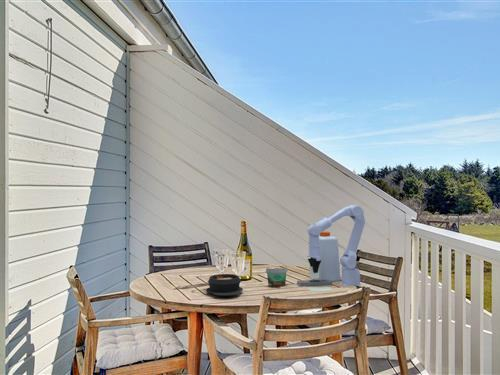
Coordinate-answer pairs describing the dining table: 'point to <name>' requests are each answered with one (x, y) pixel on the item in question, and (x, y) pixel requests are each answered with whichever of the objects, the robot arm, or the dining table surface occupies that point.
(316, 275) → the white rectangular block
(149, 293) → the dining table surface
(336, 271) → the plastic bottle
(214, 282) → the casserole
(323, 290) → the rubber mat
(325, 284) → the grey slotted plate
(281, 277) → the food container
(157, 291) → the dining table surface
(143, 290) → the dining table surface
